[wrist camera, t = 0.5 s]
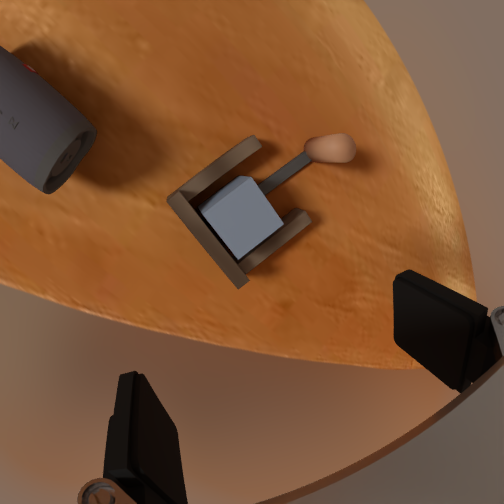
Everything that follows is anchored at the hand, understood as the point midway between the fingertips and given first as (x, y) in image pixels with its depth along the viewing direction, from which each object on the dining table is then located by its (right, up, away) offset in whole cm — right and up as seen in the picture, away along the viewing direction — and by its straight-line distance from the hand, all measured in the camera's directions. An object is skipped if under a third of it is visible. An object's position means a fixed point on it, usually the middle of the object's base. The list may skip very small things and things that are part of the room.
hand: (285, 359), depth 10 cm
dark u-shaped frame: (-2, +9, +26) cm, 28 cm away
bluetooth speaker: (-28, +21, +16) cm, 39 cm away
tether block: (+1, +12, +27) cm, 29 cm away
